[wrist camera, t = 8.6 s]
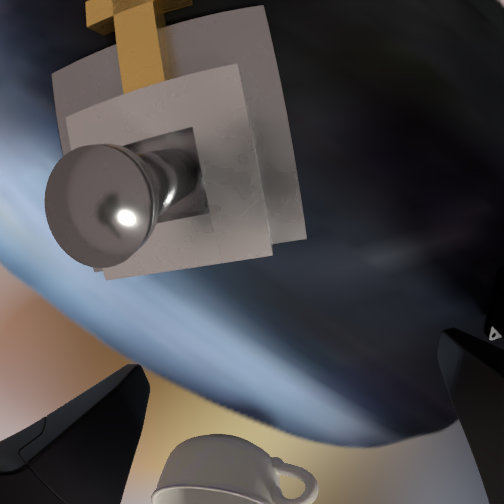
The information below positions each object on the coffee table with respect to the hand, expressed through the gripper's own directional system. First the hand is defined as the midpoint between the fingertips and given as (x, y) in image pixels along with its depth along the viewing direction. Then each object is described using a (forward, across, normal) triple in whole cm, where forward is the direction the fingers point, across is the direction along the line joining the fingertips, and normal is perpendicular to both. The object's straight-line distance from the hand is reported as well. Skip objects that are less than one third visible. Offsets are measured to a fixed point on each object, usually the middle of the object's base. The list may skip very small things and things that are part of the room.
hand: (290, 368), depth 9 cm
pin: (+11, +6, -5) cm, 13 cm away
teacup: (+12, +6, +20) cm, 24 cm away
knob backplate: (+11, +6, -9) cm, 15 cm away
